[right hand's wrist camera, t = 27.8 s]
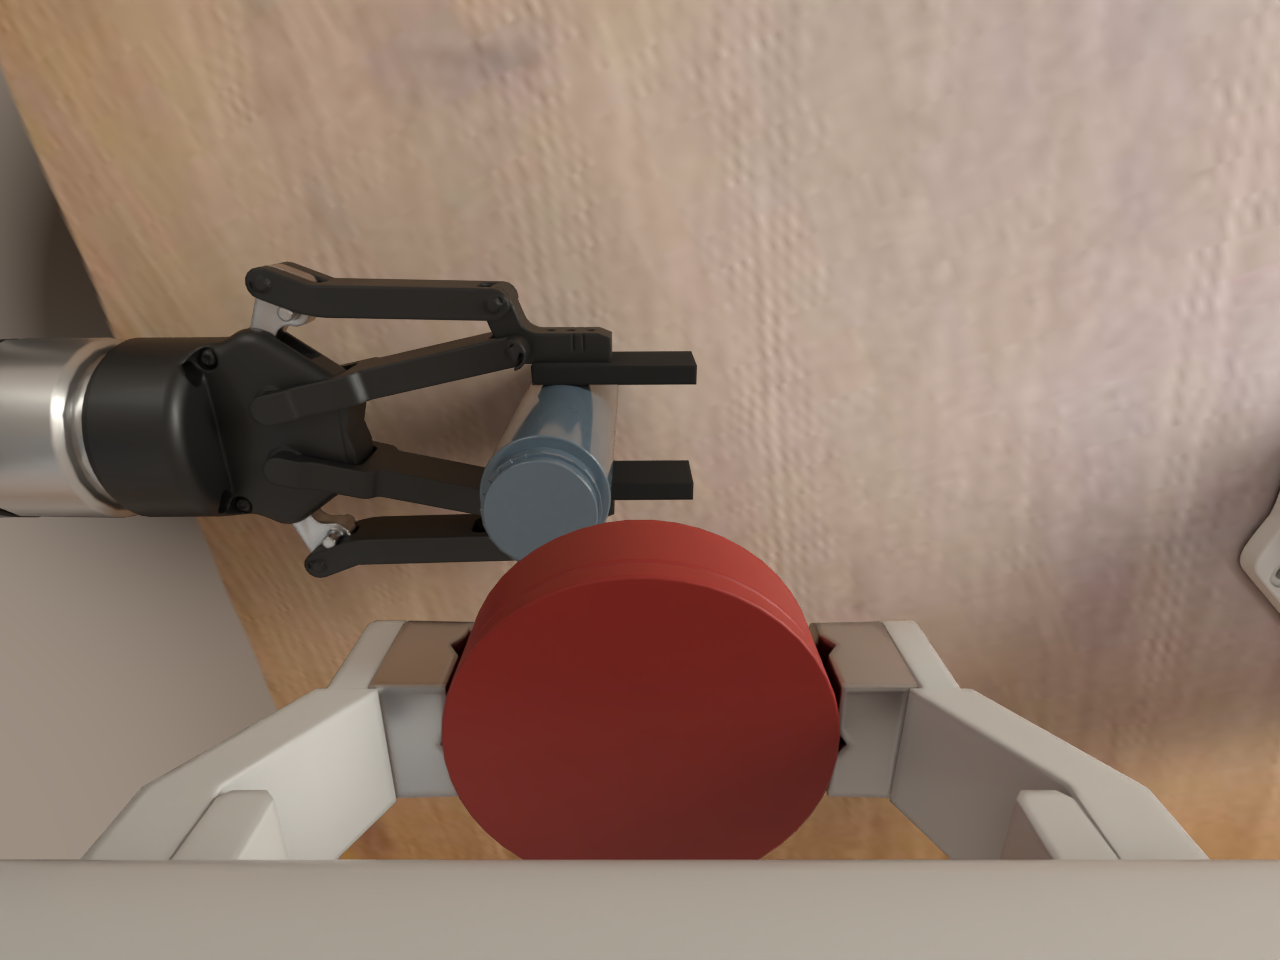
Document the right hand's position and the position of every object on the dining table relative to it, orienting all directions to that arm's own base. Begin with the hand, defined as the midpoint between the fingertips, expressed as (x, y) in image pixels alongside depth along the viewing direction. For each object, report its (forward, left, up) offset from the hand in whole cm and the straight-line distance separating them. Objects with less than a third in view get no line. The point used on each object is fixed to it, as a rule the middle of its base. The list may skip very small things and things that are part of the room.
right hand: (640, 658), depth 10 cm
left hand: (-3, 0, -20) cm, 20 cm away
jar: (0, +4, -26) cm, 26 cm away
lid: (0, 0, +1) cm, 2 cm away
